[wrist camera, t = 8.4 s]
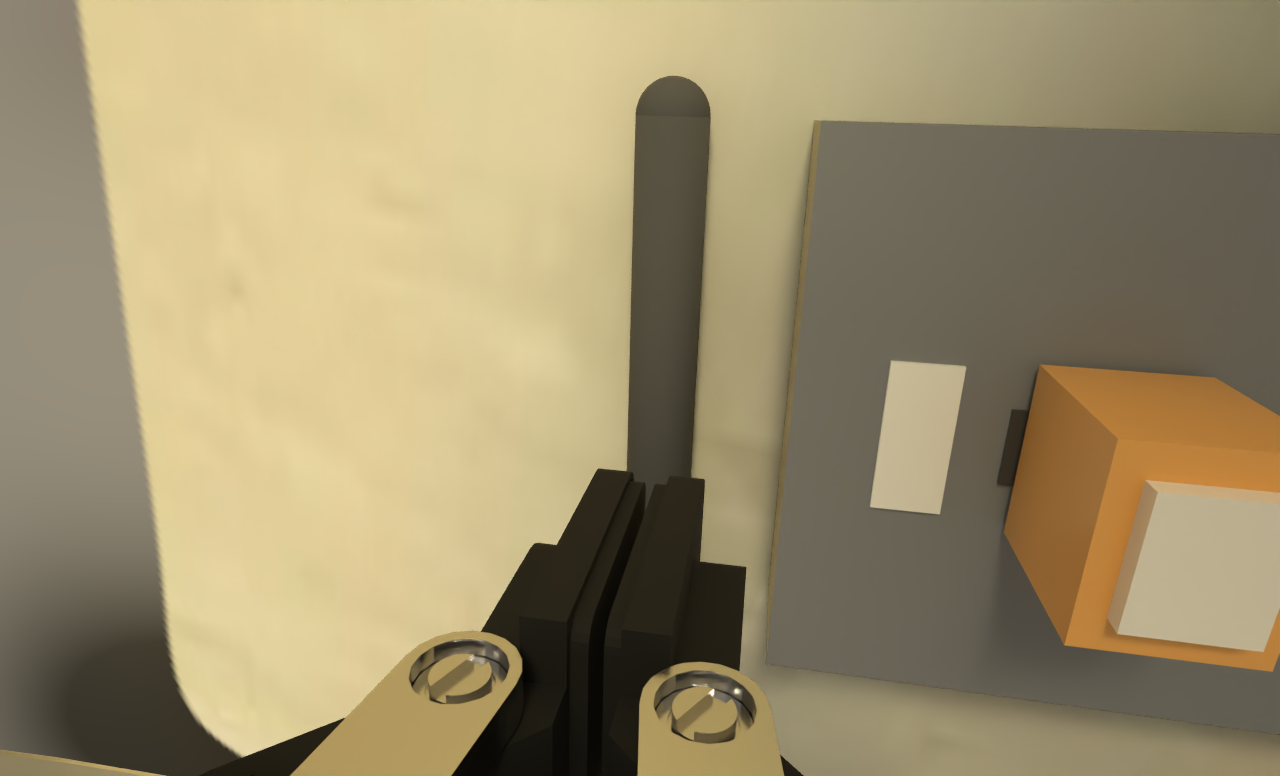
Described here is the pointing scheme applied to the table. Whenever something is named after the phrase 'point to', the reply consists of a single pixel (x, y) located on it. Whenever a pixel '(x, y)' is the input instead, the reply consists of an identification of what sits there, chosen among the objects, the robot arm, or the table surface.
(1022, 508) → the block
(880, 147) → the slider switch box
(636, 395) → the dark grey rounded rod
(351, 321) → the table surface
